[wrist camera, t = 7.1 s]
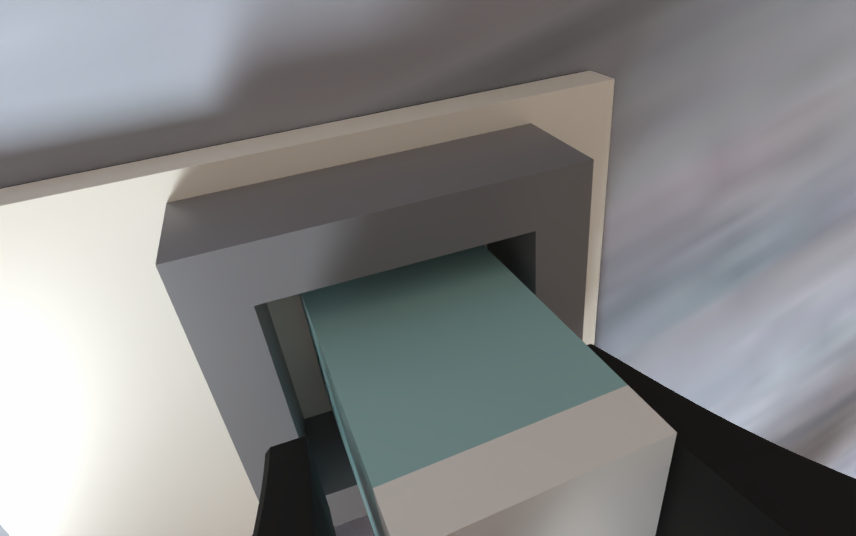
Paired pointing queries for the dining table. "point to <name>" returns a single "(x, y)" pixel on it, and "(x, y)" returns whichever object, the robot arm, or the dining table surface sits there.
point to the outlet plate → (259, 295)
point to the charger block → (482, 408)
